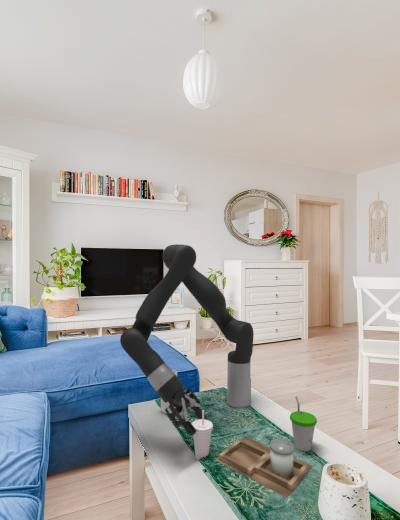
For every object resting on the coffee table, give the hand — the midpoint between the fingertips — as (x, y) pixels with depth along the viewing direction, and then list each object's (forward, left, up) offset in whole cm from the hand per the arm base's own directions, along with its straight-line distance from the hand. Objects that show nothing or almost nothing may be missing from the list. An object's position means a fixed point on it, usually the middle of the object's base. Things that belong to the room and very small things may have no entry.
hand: (199, 426), depth 96 cm
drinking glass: (-13, -27, -9) cm, 32 cm away
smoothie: (0, +1, -9) cm, 9 cm away
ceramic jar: (-8, +22, -8) cm, 25 cm away
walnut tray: (-8, +17, -9) cm, 21 cm away
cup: (-23, +22, -9) cm, 33 cm away
